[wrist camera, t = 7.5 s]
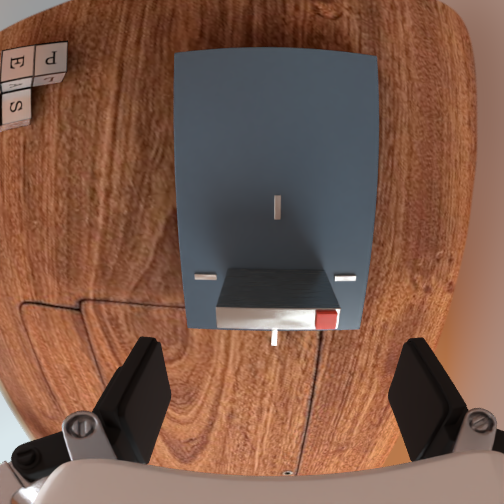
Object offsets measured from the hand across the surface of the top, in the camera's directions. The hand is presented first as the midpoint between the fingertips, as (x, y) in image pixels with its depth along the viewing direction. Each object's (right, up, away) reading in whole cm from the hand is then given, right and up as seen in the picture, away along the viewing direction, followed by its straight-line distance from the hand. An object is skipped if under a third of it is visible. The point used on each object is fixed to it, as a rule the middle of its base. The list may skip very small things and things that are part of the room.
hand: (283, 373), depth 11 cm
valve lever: (0, +3, +8) cm, 9 cm away
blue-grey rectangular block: (0, +9, +10) cm, 13 cm away
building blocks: (-19, +18, +8) cm, 27 cm away
